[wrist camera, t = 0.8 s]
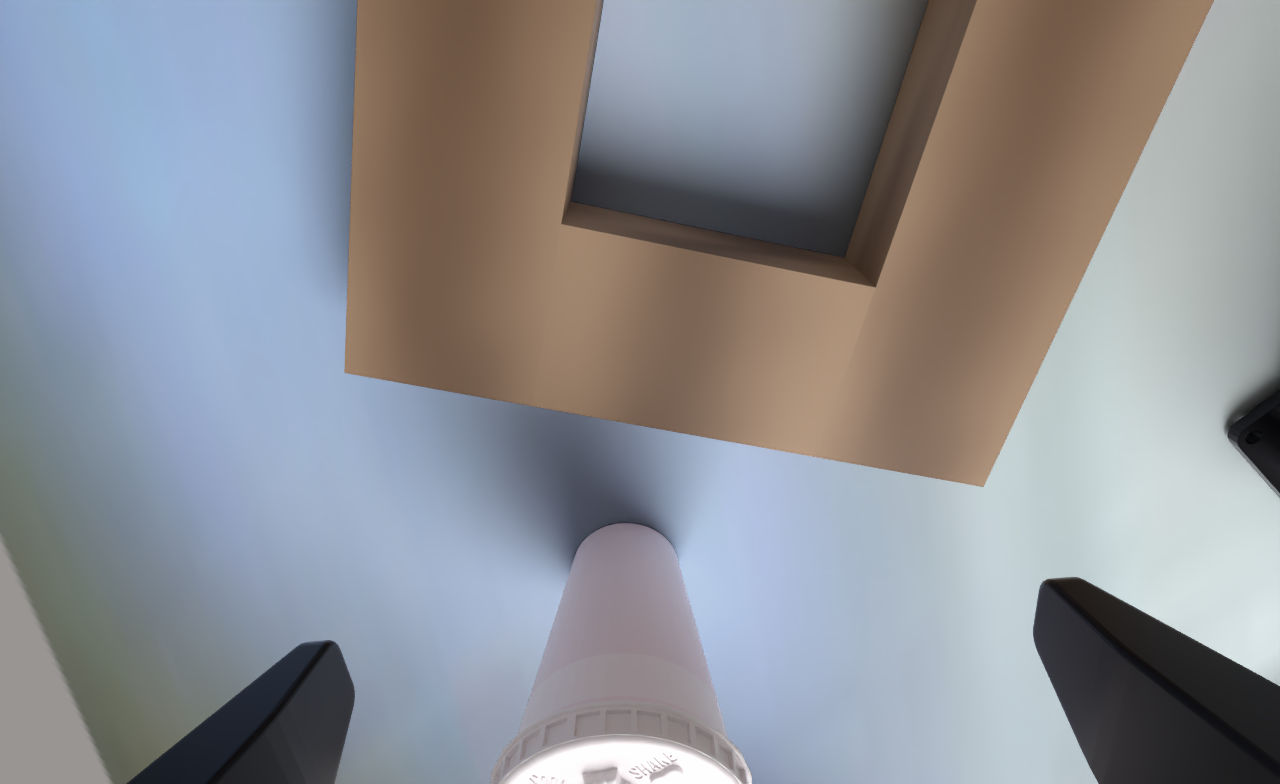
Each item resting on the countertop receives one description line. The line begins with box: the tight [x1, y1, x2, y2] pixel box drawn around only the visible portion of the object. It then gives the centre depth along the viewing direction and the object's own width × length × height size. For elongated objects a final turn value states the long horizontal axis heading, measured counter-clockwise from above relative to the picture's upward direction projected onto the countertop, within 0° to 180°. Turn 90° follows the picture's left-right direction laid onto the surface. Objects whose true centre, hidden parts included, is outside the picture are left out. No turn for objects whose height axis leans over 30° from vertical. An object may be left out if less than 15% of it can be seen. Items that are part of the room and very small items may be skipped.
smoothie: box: [491, 523, 752, 784], centre depth 19 cm, size 6×6×14 cm
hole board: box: [345, 0, 1214, 487], centre depth 17 cm, size 18×18×3 cm
